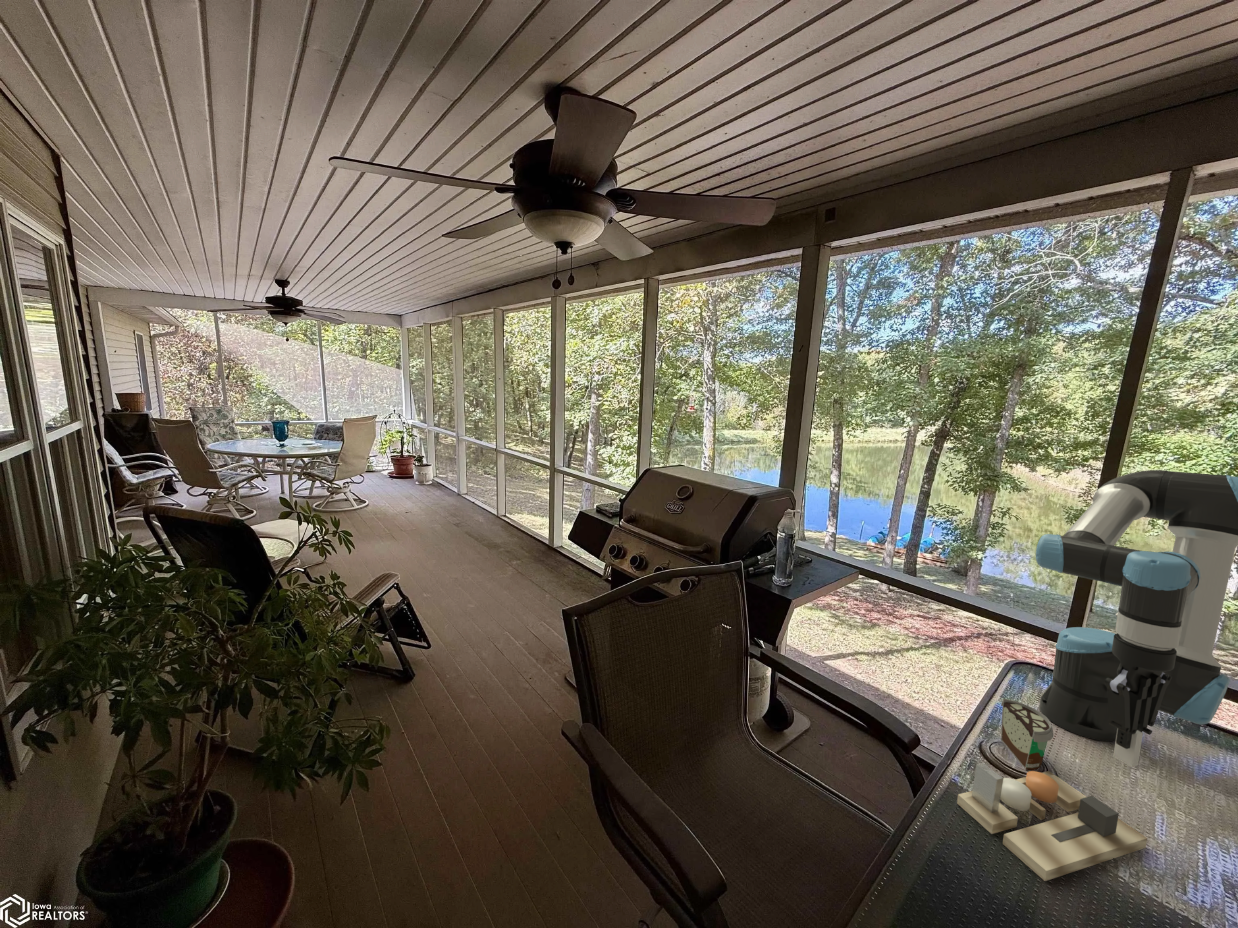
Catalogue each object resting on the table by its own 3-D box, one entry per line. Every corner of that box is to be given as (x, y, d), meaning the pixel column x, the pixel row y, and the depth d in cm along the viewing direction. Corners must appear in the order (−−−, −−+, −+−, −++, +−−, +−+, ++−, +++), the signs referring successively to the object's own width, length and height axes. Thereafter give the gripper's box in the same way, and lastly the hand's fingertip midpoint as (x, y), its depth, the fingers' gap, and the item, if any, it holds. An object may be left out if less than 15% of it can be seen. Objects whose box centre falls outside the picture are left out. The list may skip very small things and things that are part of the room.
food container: (1063, 779, 102) (1069, 736, 100) (1029, 775, 103) (1035, 732, 101) (1026, 739, 114) (1031, 700, 112) (997, 735, 115) (1001, 697, 113)
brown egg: (1036, 781, 98) (1038, 768, 98) (1063, 800, 94) (1065, 787, 93) (1018, 785, 97) (1020, 773, 97) (1044, 805, 93) (1046, 792, 92)
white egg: (1010, 788, 97) (1012, 775, 96) (1036, 807, 92) (1038, 794, 92) (991, 792, 96) (993, 780, 95) (1017, 813, 91) (1018, 799, 91)
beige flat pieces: (1047, 779, 102) (1048, 770, 101) (1145, 847, 86) (1147, 837, 86) (957, 803, 96) (958, 793, 96) (1044, 880, 80) (1046, 870, 80)
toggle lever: (977, 794, 96) (982, 762, 95) (997, 811, 92) (1003, 778, 91) (971, 795, 95) (976, 763, 94) (991, 812, 91) (996, 779, 90)
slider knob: (1089, 814, 91) (1092, 795, 90) (1115, 832, 87) (1118, 813, 86) (1077, 817, 90) (1080, 798, 89) (1103, 836, 86) (1106, 816, 86)
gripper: (1143, 625, 90) (1124, 740, 93) (1092, 634, 86) (1075, 752, 90) (1200, 646, 82) (1177, 769, 86) (1146, 656, 79) (1125, 784, 83)
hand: (1125, 760), depth 88 cm, fingers closed
